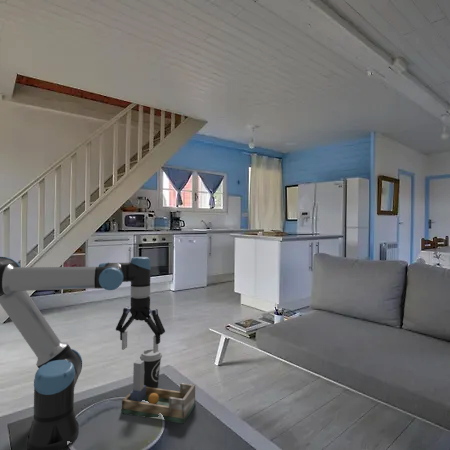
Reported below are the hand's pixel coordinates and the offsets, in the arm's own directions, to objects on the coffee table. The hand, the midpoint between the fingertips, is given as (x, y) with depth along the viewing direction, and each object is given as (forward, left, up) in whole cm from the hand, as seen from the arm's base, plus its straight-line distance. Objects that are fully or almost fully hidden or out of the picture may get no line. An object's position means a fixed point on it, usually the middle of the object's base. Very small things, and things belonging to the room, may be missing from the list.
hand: (139, 350), depth 125 cm
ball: (+6, 0, -18) cm, 19 cm away
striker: (0, 0, -20) cm, 20 cm away
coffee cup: (-3, +15, -22) cm, 27 cm away
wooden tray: (+9, 0, -22) cm, 23 cm away
